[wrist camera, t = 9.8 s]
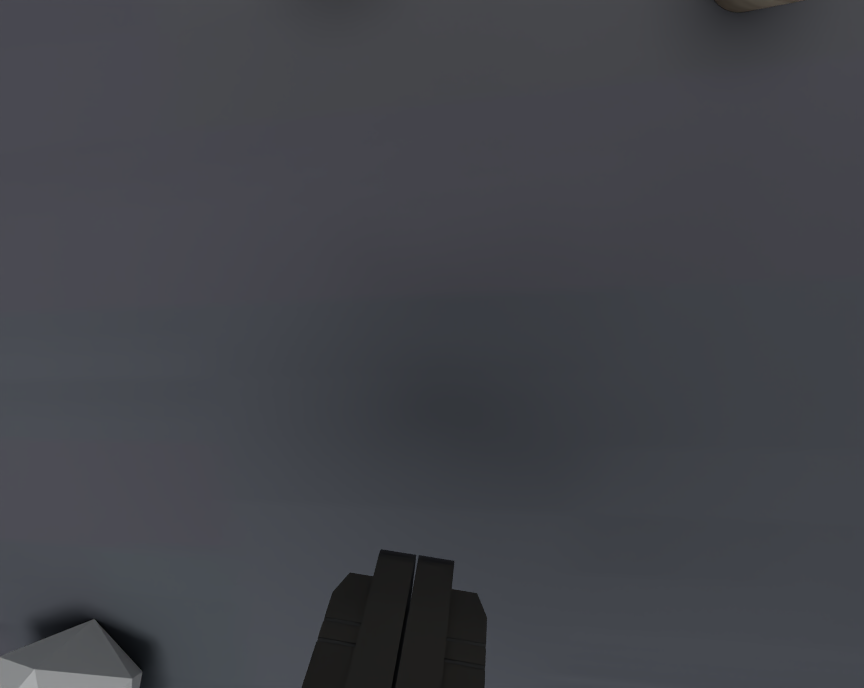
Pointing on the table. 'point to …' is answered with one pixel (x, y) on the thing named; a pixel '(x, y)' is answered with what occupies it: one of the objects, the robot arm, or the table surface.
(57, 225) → the table surface
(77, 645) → the die
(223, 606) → the table surface
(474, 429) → the table surface
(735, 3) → the post
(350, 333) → the table surface
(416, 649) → the robot arm
